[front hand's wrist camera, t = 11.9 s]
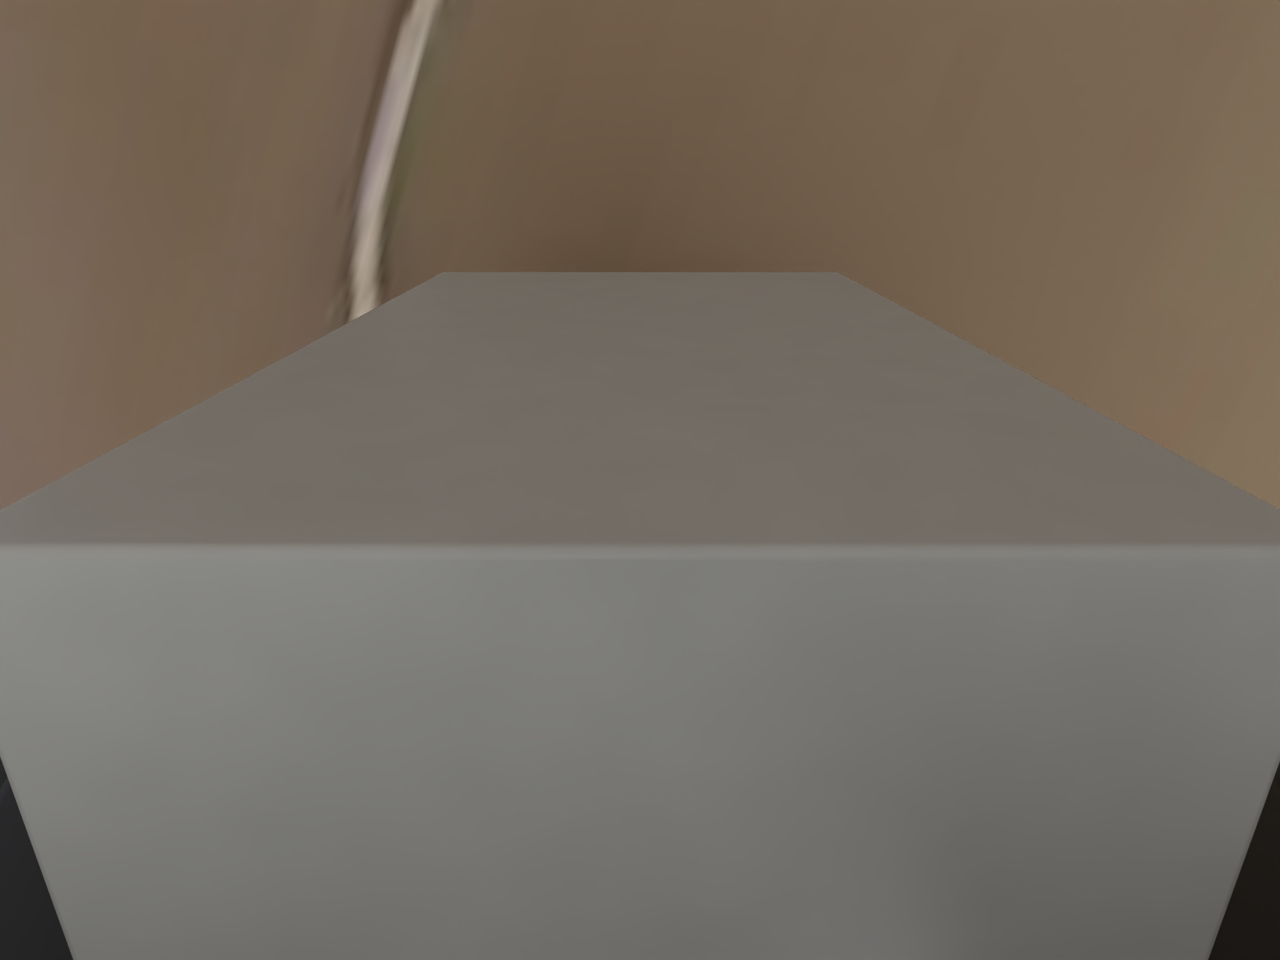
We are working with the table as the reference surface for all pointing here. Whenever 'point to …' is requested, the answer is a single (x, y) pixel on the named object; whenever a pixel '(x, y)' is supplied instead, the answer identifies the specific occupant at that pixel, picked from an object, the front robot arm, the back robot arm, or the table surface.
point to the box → (640, 647)
